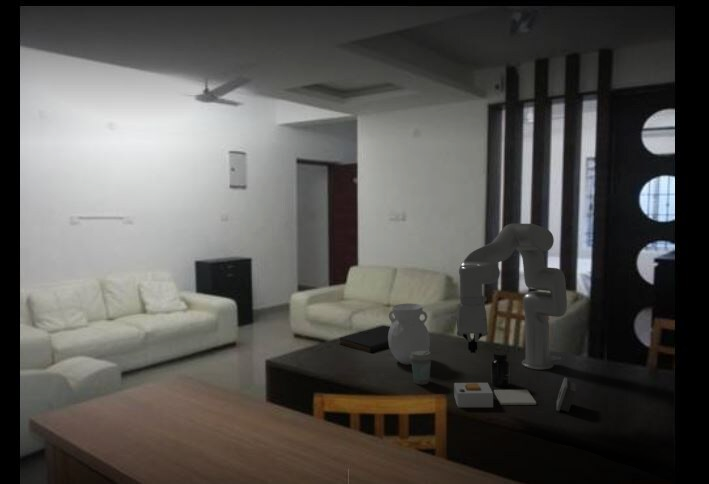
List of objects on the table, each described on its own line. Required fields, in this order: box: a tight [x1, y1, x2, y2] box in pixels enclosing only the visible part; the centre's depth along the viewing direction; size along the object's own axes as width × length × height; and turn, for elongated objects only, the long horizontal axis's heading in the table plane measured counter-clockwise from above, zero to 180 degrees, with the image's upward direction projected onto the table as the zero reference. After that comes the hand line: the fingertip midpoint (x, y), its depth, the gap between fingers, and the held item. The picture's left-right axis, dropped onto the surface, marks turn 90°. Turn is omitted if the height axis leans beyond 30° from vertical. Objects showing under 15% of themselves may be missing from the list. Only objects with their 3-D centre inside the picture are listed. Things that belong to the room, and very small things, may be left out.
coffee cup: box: [410, 350, 433, 386], centre depth 200 cm, size 9×8×12 cm
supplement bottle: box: [490, 351, 511, 388], centre depth 195 cm, size 7×7×12 cm
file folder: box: [338, 325, 390, 354], centre depth 261 cm, size 33×4×24 cm
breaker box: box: [453, 382, 494, 408], centre depth 179 cm, size 12×10×5 cm
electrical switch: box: [556, 377, 576, 413], centre depth 171 cm, size 9×5×9 cm, turn 158°
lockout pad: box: [493, 389, 537, 406], centre depth 181 cm, size 12×12×1 cm
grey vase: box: [388, 303, 431, 365], centre depth 226 cm, size 19×18×25 cm
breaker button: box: [465, 382, 480, 391], centre depth 179 cm, size 4×4×4 cm
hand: (472, 351), depth 178 cm, fingers closed
